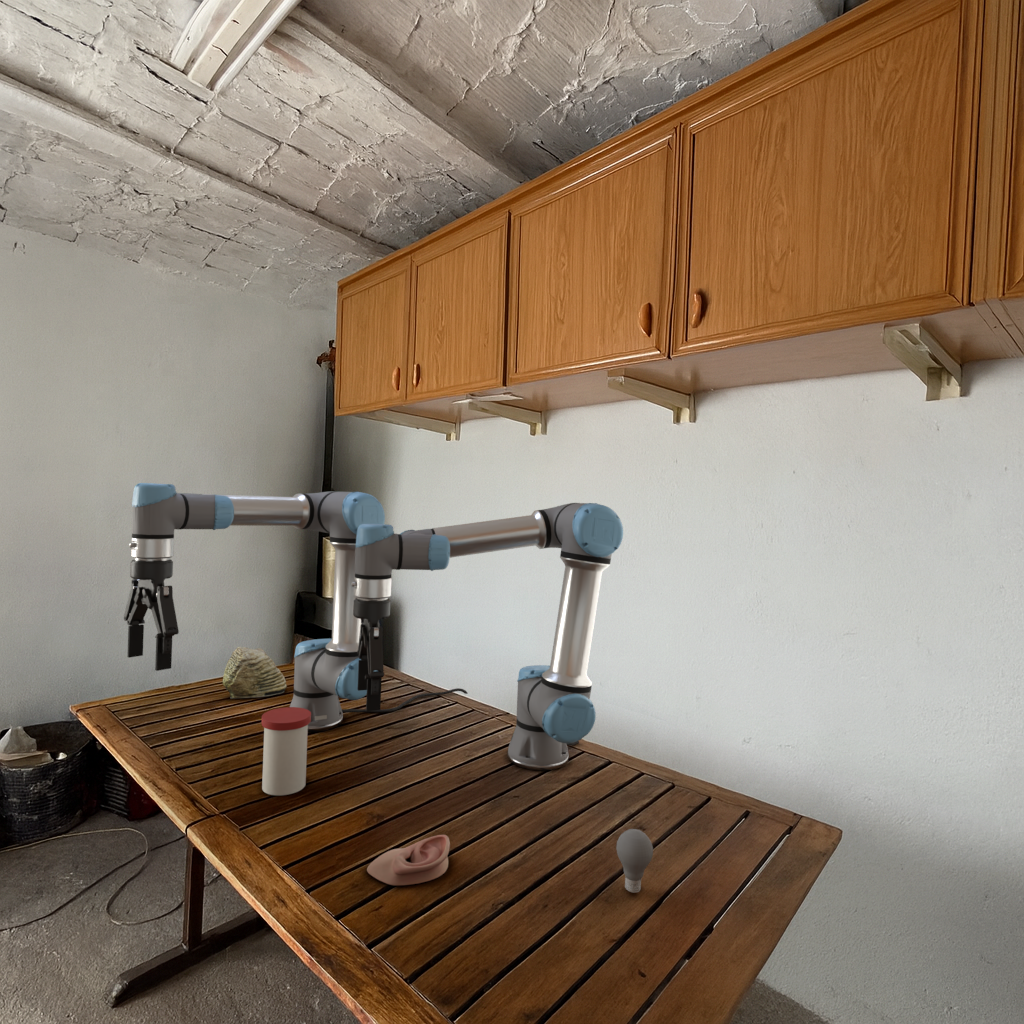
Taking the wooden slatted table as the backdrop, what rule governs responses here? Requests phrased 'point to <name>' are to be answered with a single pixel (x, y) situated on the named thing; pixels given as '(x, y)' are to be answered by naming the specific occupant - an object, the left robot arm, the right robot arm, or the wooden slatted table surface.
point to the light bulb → (634, 857)
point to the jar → (284, 761)
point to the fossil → (252, 674)
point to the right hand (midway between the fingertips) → (368, 699)
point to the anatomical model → (412, 862)
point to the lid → (286, 718)
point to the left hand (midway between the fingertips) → (148, 662)
